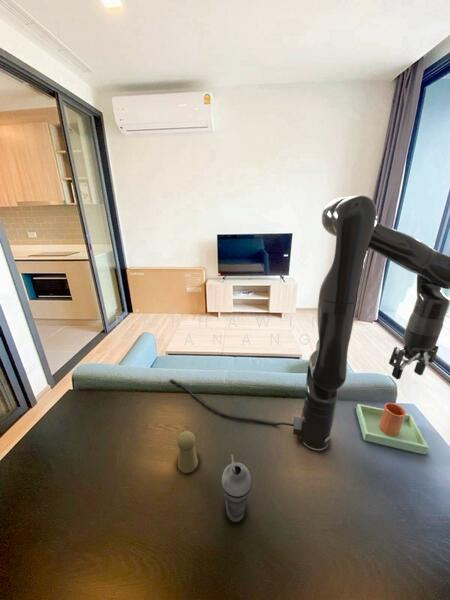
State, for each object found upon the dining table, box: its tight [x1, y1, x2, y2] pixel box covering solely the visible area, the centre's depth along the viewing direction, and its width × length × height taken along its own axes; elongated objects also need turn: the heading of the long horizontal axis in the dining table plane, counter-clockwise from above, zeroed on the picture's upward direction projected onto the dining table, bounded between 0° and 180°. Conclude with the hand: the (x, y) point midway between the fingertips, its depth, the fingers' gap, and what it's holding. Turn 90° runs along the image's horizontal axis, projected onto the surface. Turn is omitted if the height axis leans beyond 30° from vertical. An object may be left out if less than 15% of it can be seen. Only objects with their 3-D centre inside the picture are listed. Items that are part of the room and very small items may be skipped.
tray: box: [355, 403, 429, 455], centre depth 85 cm, size 18×14×3 cm
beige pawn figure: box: [176, 430, 199, 474], centre depth 72 cm, size 6×6×11 cm
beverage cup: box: [220, 453, 252, 523], centre depth 59 cm, size 7×7×20 cm
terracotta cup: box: [379, 402, 407, 437], centre depth 83 cm, size 6×6×9 cm
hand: (406, 375), depth 75 cm, fingers open, 8 cm apart
